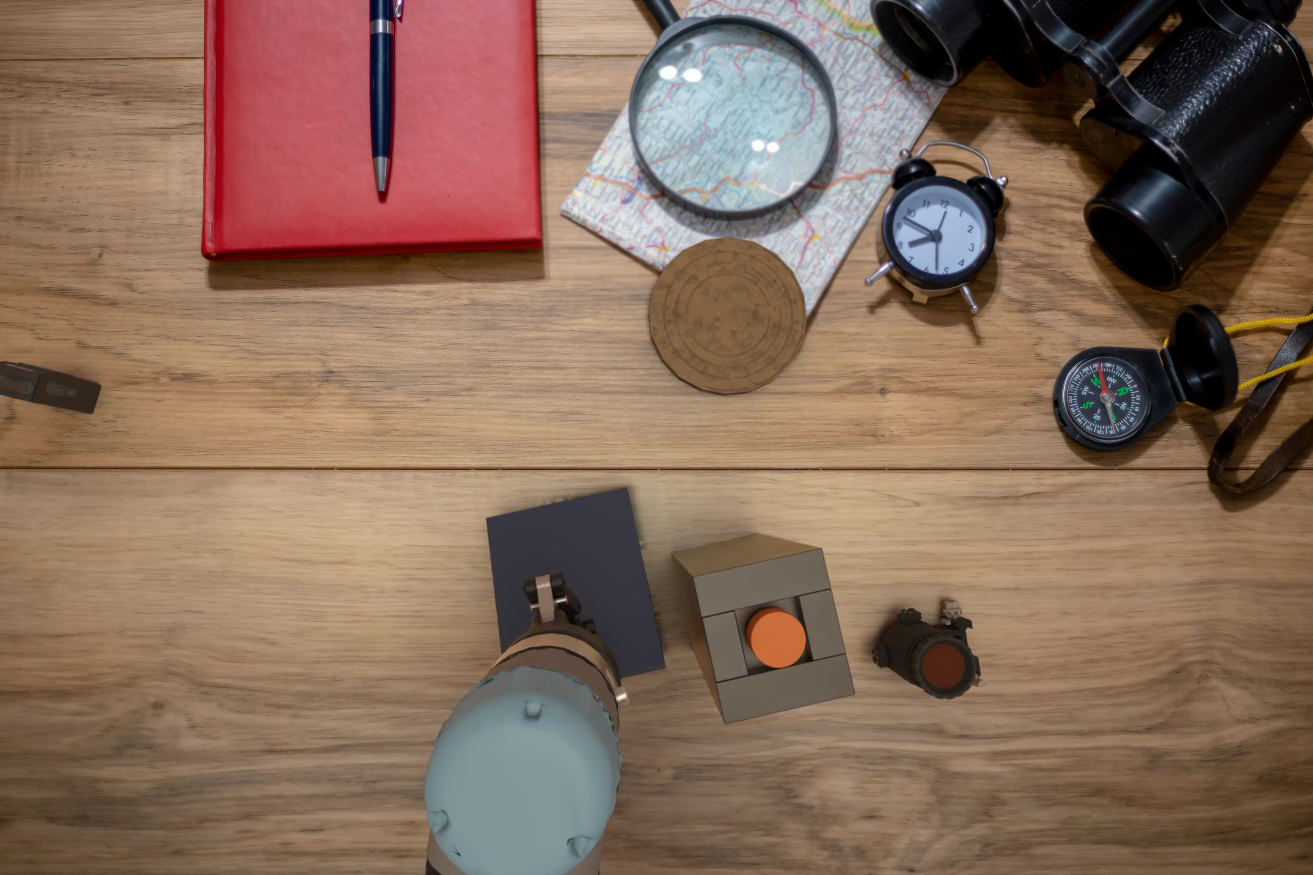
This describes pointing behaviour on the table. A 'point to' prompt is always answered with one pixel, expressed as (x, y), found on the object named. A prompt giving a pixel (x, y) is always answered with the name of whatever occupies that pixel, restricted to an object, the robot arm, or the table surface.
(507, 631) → the lid
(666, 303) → the brown round disc
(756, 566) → the button post
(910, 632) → the red dot sight
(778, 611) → the button
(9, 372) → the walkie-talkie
